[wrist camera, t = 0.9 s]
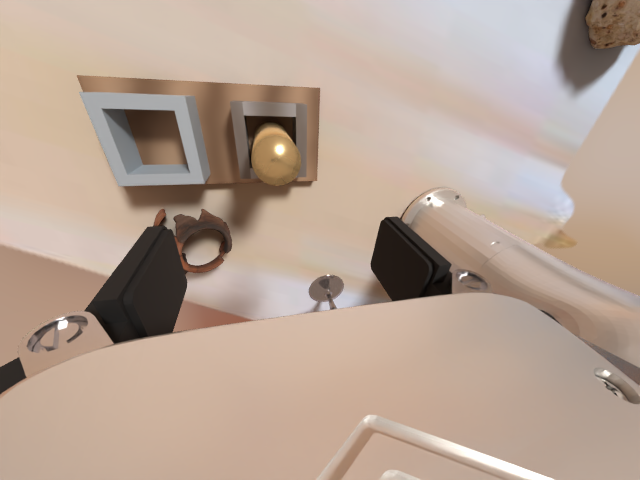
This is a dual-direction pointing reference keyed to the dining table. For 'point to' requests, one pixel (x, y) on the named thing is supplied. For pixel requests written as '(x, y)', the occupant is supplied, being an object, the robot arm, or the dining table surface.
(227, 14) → the dining table surface
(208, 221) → the pottery mug
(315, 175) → the tool board
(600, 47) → the rock
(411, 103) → the dining table surface
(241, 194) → the dining table surface
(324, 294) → the wine glass
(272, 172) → the brass cylinder
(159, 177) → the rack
